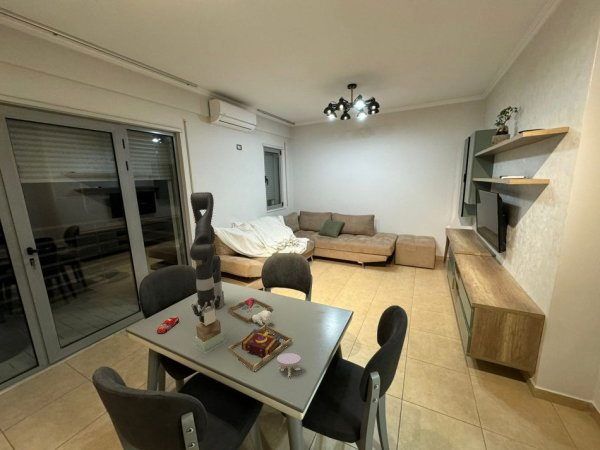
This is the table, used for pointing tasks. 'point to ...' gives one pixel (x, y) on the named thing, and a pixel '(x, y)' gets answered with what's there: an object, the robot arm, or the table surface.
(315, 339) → the table surface
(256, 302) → the pieces tray
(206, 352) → the baseplate
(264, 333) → the decorative book
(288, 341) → the book tray
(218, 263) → the robot arm
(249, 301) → the toy pieces
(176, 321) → the race car
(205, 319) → the cream brick
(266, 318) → the cream lumpy sculpture
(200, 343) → the base brick
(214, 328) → the walnut brick
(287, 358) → the toy table
